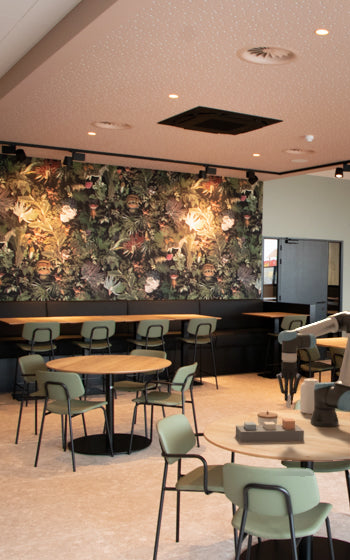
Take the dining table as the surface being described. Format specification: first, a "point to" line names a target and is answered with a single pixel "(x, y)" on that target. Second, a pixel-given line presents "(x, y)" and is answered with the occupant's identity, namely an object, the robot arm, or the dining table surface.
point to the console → (269, 434)
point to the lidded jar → (267, 417)
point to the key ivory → (269, 425)
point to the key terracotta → (288, 424)
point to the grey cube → (249, 426)
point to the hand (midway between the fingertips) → (288, 407)
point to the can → (307, 395)
